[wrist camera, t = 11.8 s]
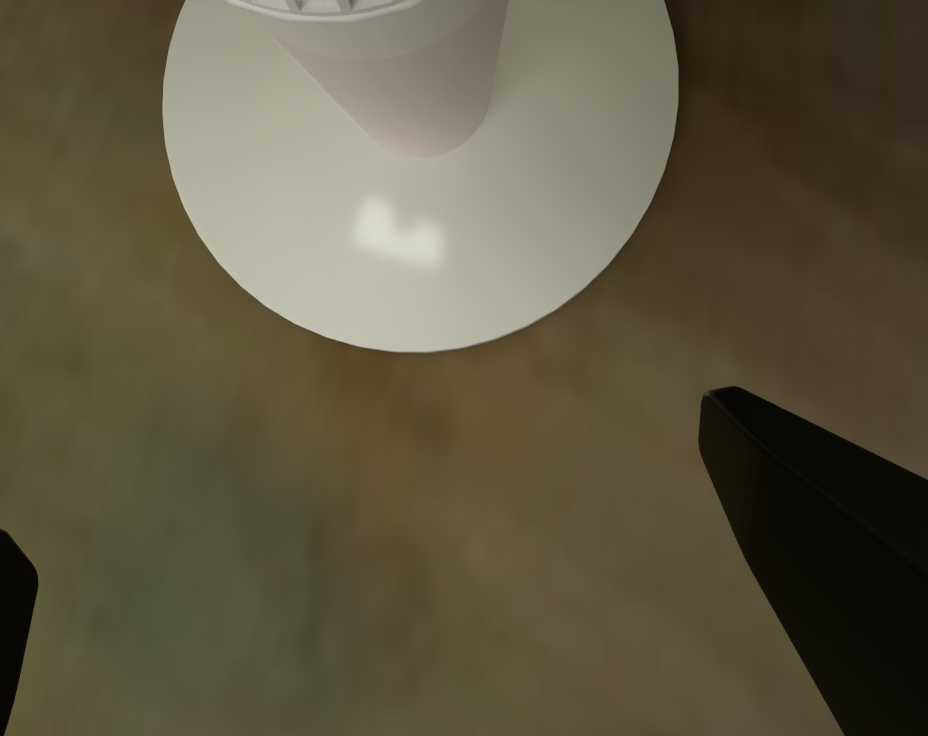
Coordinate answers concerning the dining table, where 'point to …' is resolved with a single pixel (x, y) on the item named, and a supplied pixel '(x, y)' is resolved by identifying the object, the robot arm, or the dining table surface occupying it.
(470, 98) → the smoothie
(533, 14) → the plate
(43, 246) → the dining table surface
